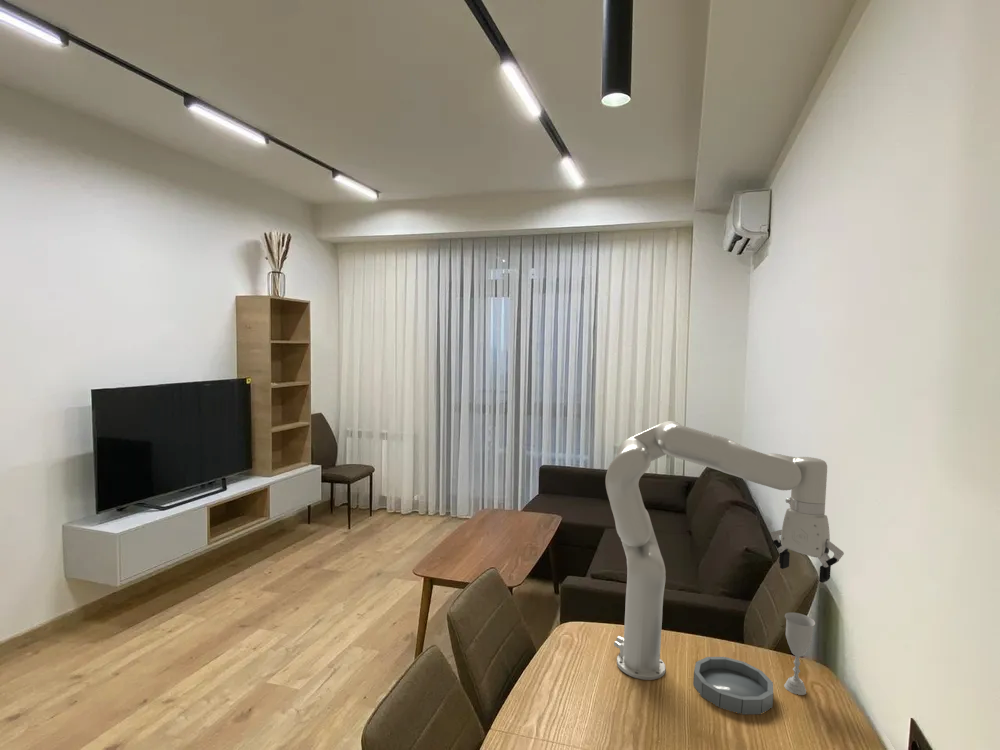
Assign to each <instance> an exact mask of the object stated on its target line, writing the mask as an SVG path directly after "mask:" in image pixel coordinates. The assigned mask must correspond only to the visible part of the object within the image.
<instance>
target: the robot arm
mask: <svg viewBox="0 0 1000 750" xmlns="http://www.w3.org/2000/svg"><path fill="white" fill-rule="evenodd" d="M616 453H617V454H616V456H615V457H614V458H613V460H612V461H611V463H610V464H609V466H608V468H607V471H606V474H605V481H604V482H605V489H606V494H607V498H608V500H609V504H610V509H611V512H612V514H613V515H612V516H613V520H614V523H615V530H616V533H617V535H618V537H619V539H620V541H621V544H622V547H623V551H624V554H625V557H626V568H627V571H626V572H627V573H626V574H627V577H626V589H625V605H624V606H625V609H624V610H625V611H624V627H623V628H624V630H623V631H624V632H623V636H621V635H618V636H617V637H616V639H615V640H616V641H614V642H613V646H614V647H616V648H617V649H619V654H618V655H617V657H616V666H617V667H618V668H619V670H620V671H621V672H623V673H624V674H625V675H628V676H630V677H632V678H634V679H639V680H644V681H645V680H646V681H651V680H652V681H653V680H657V679H660V678H662V677H663V676H664V675H665V674H666V664H665V662H664V661H663V660H662V658H661V644H662V625H663V624H662V623H663V606H664V594H665V587H666V586H665V585H666V578H667V577H666V573H667V571H666V566H665V561H664V558H663V556H662V553H661V550H660V547H659V544H658V543H659V542H658V540H657V537H656V534H655V531H654V527H653V525H652V524H653V523H652V521H651V517H650V514H649V512H648V510H647V509H646V506H645V504H644V500H643V497H642V494H641V491H640V487H639V486H640V485H639V484H640V483H639V482H640V479H641V478H642V476H643V475H644V474H645V473H647V471H648V470H649V468H650V466H651V463H652V462H653V461H655V460H657V459H660V458H662V457H664V456H666V455H668V456H670V457H672V458H676V459H680V460H683V461H686V462H690V463H693V464H696V465H700V466H703V467H706V468H710V469H712V470H716V471H720V472H722V473H725V474H728V475H730V476H734V477H738V478H740V479H743V480H746V481H749V482H752V483H755V484H758V485H761V486H764V487H765V486H766V487H768V488H772V489H774V490H779V491H791V492H790V493H791V495H790V497H786V499H785V503H787V504H789V508H786V511H785V514H784V518H783V522H782V526H781V529H779V530H775V531H771V532H770V536H771V540H773V545H775V547H776V548H777V552H778V553H779V559H778V562H779V568H780V570H781V569H782V570H784V569H786V568H790V567H789V566H790V556H791V553H790V551H793V552H796V553H798V554H799V553H800V554H801V555H802V554H803V555H806V556H808V557H812V558H817V559H818V560H819V562H820V563H821V565H820V566H819V578H818V579H819V580H818V582H820V583H822V584H823V583H826V582H828V581H829V580H830V578H831V567H832V566H833V565H835V564H836V563H838V562H839V561H840V560H841V559H842V558H843V556H844V554H845V553H844V551H843V550H841V549H840V548H839V547H838V546H836V545H835V544H834V543H833V542H832V541H830V539H831V537H830V526H829V525H830V523H829V519H828V516H827V515H826V514H825V512H826V499H827V498H826V497H827V479H828V465H827V462H826V461H825V460H823V459H821V458H817V457H809V456H797V457H795V456H789V455H784V454H778V453H764V452H760V451H757V450H754V449H751V448H748V447H746V446H744V445H742V444H740V443H738V442H735V441H734V440H731V439H730V438H729V439H728V438H726V437H724V436H720V435H716V434H713V433H709V432H705V431H702V430H698V429H696V428H691V427H689V426H685V425H682V424H680V423H678V422H676V421H674V420H668V421H666V420H665V421H664V422H661V423H659V424H656V425H655V426H653V427H651V428H648V429H647V430H644V431H641V432H639V433H638V434H635V435H634V436H633V435H632V436H630V437H629V438H627V439H625V440H624V441H622V442H621V443H620V445H619V446H618V448H617V452H616ZM830 551H831V553H833V556H832V557H830V555H829V553H830Z"/></svg>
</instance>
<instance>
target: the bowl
mask: <svg viewBox="0 0 1000 750" xmlns="http://www.w3.org/2000/svg"><path fill="white" fill-rule="evenodd" d="M693 670H694V671H693V682H692V683H693V684H692V685H693V687H694V688H695V689H696V691H697V693H698V694H699V693H700V694H699V695H700V697H702V698H703V699H704V698H705V699H704V700H706V699H707V700H706V701H707V702H709V701H710V702H709V703H711V702H712V703H713V705H714V704H715V705H714V706H715V707H717V706H718V708H719V709H722V708H723V709H722V710H725V709H726V711H728V710H729V712H732V711H733V713H735V712H737V713H736V714H739V713H740V714H739V715H762V714H761V713H763V712H764V713H766V712H767V711H769V710H771V709H773V705H774V704H773V703H774V681H772V680H771V679H770V678H769V677H768V675H767V674H766V673H765V672H763V671H762V670H760V669H759V668H756V667H755V666H754V665H751V664H749V663H747V662H745V661H743V660H739V659H736V658H735V659H734V658H730V657H727V656H706V657H704V658H702V659H699V660H697V661H696V662H695V665H694V669H693ZM712 703H711V704H712ZM770 708H771V709H770ZM765 711H766V712H765ZM741 713H742V714H741ZM764 713H763V714H764Z"/></svg>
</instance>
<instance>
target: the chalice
mask: <svg viewBox="0 0 1000 750" xmlns="http://www.w3.org/2000/svg"><path fill="white" fill-rule="evenodd" d="M784 618H785V620H786V621H785V622H786V623H785V639H786V640H787V644H788V646H789V649H790V652H791V654H793V655H794V657H795V658H794V660H793V664H794V667H793V668H792V670H793V676H789V677H788V678H787V680H786V681H785V683H784V684H783V686H784V688H785V690H786V691H788V692H790V693H791V694H794V695H797V694H798V696H804V695H806V694H807V693H806V691H807V689H806V686H805V683H804V681H803V680H802V679H801V678H800V677H799V673H801V670H800V668H799V667H800V665H801V662H800V657H804V656H805V655H806V653H807V652H808V651H809V648H810V646H811V644H812V642H813V633H814V632H813V631H814V629H813V628H814V626H815V625H816V621H815V620H814V619H813V618H811V617H810V616H808V615H805V614H802V613H799V612H786V613H785V614H784Z"/></svg>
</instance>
